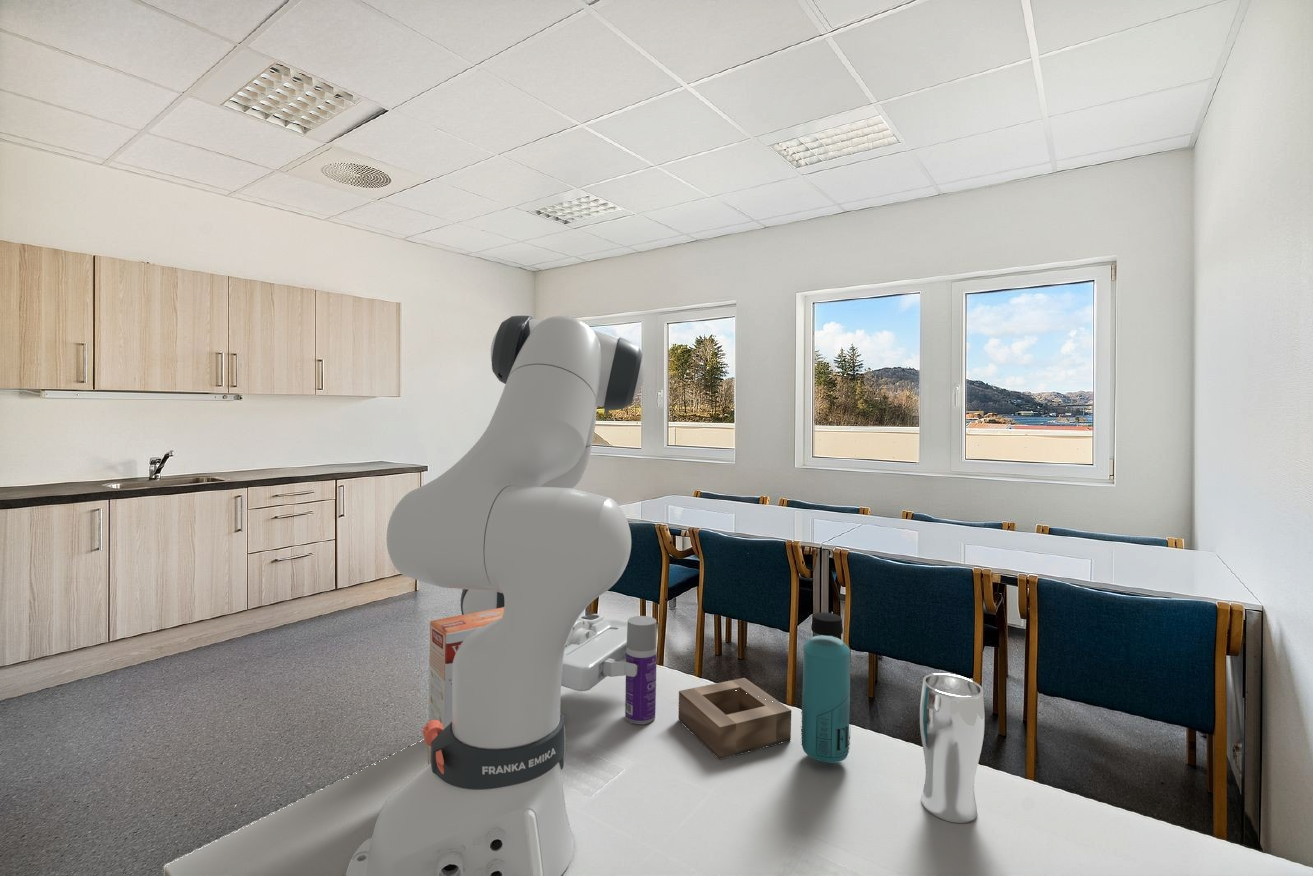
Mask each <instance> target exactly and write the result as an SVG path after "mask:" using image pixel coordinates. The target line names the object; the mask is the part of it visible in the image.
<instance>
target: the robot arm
mask: <svg viewBox="0 0 1313 876" xmlns="http://www.w3.org/2000/svg"><path fill="white" fill-rule="evenodd" d="M490 359H491V360H490V361H491V371H492V373H494V375H495V377H496V379H497V380H498V381H499V382H501V384H503V385H504V387H503V390H502V393H501V395H500V398H499V400H498V402H497V405H496V408H495V410H494V412H493V414H492V417H491V418H490V421H489V424H488V426H487V428H485V431H484V433H482V435H481V436H480V438H479V439H478V440H477V442H475V444H474V445H473V446H472V447H471V448H470V449H469V450H468V451H467V452H466V454H465V455H463V456H462V457H461V458H460V459H459V460H458V461H457V462H456V463H455V464H454V465H452V466H451V467H450V468H449V469H447V470H446V471H445V472H443V473H442V474H441V475H439V476H437V478H434V479H433V480H431V481H430V482H428V483H426V484H424V485H422V486H419V487H417V488H414V489H413V490H411V491H409V492H407V494H405V495H404V496H403V497H402V498H401V500H399V501H398V503H397V504H396V505H395V507H394V509H393V511H392V512H391V515H390V517H389V521H388V523H387V528H386V548H387V551H388V555H389V558H390V561H391V562H392V564H393V566H394V567H395V569H396V570H397V572H399V573H400V574H401V575H403V576H405V577H408V578H410V579H413V580H416V581H419V582H423V583H426V584H429V585H433V586H436V587H439V588H442V589H443V588H444V589H445V588H446V589H457V590H459V589H460V590H461V594H460V595H461V596H460V611H461V615H465V614H470V613H475V612H481V611H486V610H492V609H497V608H502V607H504V612H503V616H502V618H500V619H497V620H495V621H493V622H491V623H488V624H486V625H484V626H483V627H481V628H479V629H477V630H476V631H474V632H472V633H471V634H470V635H469V636H467V637H466V638H465V640H464V641H463V642H462V643H461V645H460V646H459V648H458V650H457V652H456V654H455V657H454V660H453V664H452V722H451V723H450V724H449V725H448V726H447V727H446V728H445V729H444V730H443V726H442V723H440V721H438V720H432V721H429V720H428V722H426V723H425V725H424V726H423V729H422V735H423V739H424V743H425V744H426V745H427V746H428V745H429V746H431V763H430V764H429V765H428V764H427V765H426V767H424V768H423V769H421V771H420V772H418V773H417V774H416V775H415V776H414V777H413V778H411V779H410V780H408V782H407V783H405V784H404V785H403V786H402V787H400V788H399V789H398V790H397V791H395V792H394V793H393V794H392V795H391V796H389V798H388V799H387V800H386V801H385V802H384V804H383V805H382V807H381V809H380V811H379V813H378V815H377V818H376V821H375V825H374V828H373V832H372V835H371V837H369V838H367V839H365V840H364V841H363V842H362V843H361V844H360V845H359V846H358V848H357V849H356V850H355V852H354V853H353V855H352V857H351V858H350V861H349V862H348V863H349V864H348V865H347V868H346V872H345V876H562V875H563V874H564V872H565V871H566V870H567V868H568V867H569V865H570V863H571V861H572V860H573V859H572V858H573V856H574V852H575V838H574V834H573V831H572V829H571V825H570V822H569V817H568V813H567V807H566V801H565V794H564V783H563V774H562V772H563V771H562V770H563V769H564V767H565V766H564V765H565V756H566V727H565V726H566V725H565V717H564V715H563V714H561V694H562V687H564V688H567V689H570V690H574V691H577V692H587V691H590V690H591V689H592V688H594V687H595V686H597V685H598V684H599V683H600V682H601V681H603V680H604V679H606V678H607V677H611V678H612V677H623V676H625V677H626V676H631V677H635V676H636V675H637V674H638V673H639V672H640V669H639V668H640V664H639V663H638V662H636V661H631V660H629V661H627V662H626V647H627V625H628V621H624V620H619V619H613V618H612V619H611V618H610V619H609V618H608V619H607V618H606V619H604V618H605V617H604V615H603V614H598V613H591V614H588V615H584V616H581V615H582V613H583V612H584V611H585V610H586V609H587V608H588V606H589V605H590V604H592V602H594V601H595V600H596V599H597V598H599V597H600V596H602V595H603V594H604V593H607V591H609V590H610V589H612V587H613V586H614V585H615V584H616V583H617V582H618V581H619V579H620V578H621V577H622V575H623V573H624V571H625V570H626V567H627V565H628V564H629V563H628V562H629V559H630V556H631V550H632V533H631V528H630V525H629V521H628V519H627V517H626V514H625V513H624V511H623V510H622V508H621V506H620V505H619V504H618V502H617V501H616V500H614V499H613V498H611V497H608V496H604V495H601V494H596V493H594V492H589V491H585V490H580V489H577V488H576V486H577V485H578V484H579V482H580V481H581V479H582V478H583V475H584V474H585V471H586V469H587V466H588V463H589V460H590V456H591V452H592V445H593V442H594V437H595V429H596V423H597V421H596V420H597V408H598V407H600V408H602V409H604V411H603V414H604V415H605V414H606V415H607V414H609V413H610V411H612V412H613V411H618V410H620V411H621V410H623V409H625V408H627V407H628V406H630V405H632V404H633V401H634V400H635V398H636V397H637V396H638V395H639V393H640V391H641V390H642V386H643V385H644V380H645V371H646V370H645V363H644V359H643V352H642V350H641V348H640V346H638V345H637V344H636V343H634V342H632V341H630V340H628V339H626V338H624V337H621V336H620V337H619V338H616V337H613V336H611V335H609V334H606V333H602V332H599V331H596V330H593V329H592V328H591V327H590V326H589V325H588V324H587V323H586V322H584V321H582V320H580V319H578V318H575V317H573V316H567V315H553V316H550V317H547V318H544V319H540V318H533V316H531V315H513V316H512V315H511V316H510V317H509V318H506V319H504V320H503V321H502V322H501V324H500V325H499V327H498V329H497V331H496V333H495V334H494V337H493V339H492V341H491V346H490ZM574 487H575V488H574Z"/></svg>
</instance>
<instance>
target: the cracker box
mask: <svg viewBox="0 0 1313 876" xmlns="http://www.w3.org/2000/svg"><path fill="white" fill-rule="evenodd" d="M503 612H504V607H502V608H497V609H492V610H486V611H481V612H475V613H470V614H465V615H462V614H460V615H454V616H449V617H444V618H440V619H439V618H438V619H434V620H431V621H429V663H428V664H429V665H428V666H429V668H428V670H429V671H428V672H429V673H428V678H429V679H428V722H429V721H432V720H438V721H440V723H442V726H443V730H444V729H445V728H446V727H447V726H448V725H449V724H450V723H451V722H452V664H453V660H454V657H455V654H456V652H457V650H458V648H459V646H460V645H461V643H462V642H463V641H464V640H465V638H466V637H467V636H469V635H470V634H471V633H472V632H474V631H476V630H477V629H479V628H481V627H483V626H484V625H486V624H488V623H491V622H493V621H495V620H497V619H500V618H502V616H503ZM427 746H428V747H427V766H428V765H429V764H430V763H431V746H429V745H427Z"/></svg>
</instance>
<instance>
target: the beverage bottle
mask: <svg viewBox="0 0 1313 876" xmlns="http://www.w3.org/2000/svg"><path fill="white" fill-rule="evenodd" d="M810 625H811V626H810V629H811V632H813V633H815V634H817V635H815V636H813V637H811V638H810V639H808V640H807V641H806V642H805V643H803V646H802V647H803V648H802V651H803V653H802V654H803V658H802V659H803V662H802V664H803V665H802V666H803V667H802V689H801V690H802V691H801V692H802V693H801V694H802V695H801V712H800V716H801V717H800V719H801V725H800V737H801V738H800V739H801V743H800V745H801V747H802V750H803V751H804V753H805V755H807V756H808V757H810V758H811V759H814V760H816V761H819V762H824V763H840V762H842V761H845V760H846V759H847V757H848V756H849V753H850V750H851V749H850V748H851V735H850V725H851V721H850V719H851V714H852V713H851V710H852V708H851V704H850V703H851V702H850V701H851V699H850V698H851V697H850V696H851V695H850V694H851V691H852V688H851V655H852V653H851V649H850V647H849V646H848V645H847V644H846V643H845V642H844V641H843V640H842V639H840V638H838V637H839V636H841V635H842V634H843V633H844V630H843V629H844V628H843V618H842V617H841V616H840V615H838V614H835V613H832V612H817V613H814V614H813V615H812V619H811V624H810ZM837 636H838V637H837Z"/></svg>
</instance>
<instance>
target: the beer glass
mask: <svg viewBox="0 0 1313 876" xmlns="http://www.w3.org/2000/svg"><path fill="white" fill-rule="evenodd" d="M921 689H922V690H921V696H920V705H919V725H920V726H919V727H920V736H921V744H922V750H923V756H924V764H925V779H924V784H923V785H924V786H923V789H922V792H921V797H920V800H921V803H922V806H923V807H924V808H925V809H926V810H927V812H929V813H930V814H932V815H933V816H934V817H937V818H938V819H941V820H942V821H943V820H944V821H945V822H946V821H947V822H950V823H956V824H967V823H971V822H973V821H974V820H976V818H977V816H978V809H977V808H978V807H977V801H976V795H975V778H976V774H977V769H978V765H979V761H980V756H981V753H982V748H983V742H984V737H985V736H984V735H985V704H984V688H983V687H982V686H981V685H980V684H979V683H978V682H976V681H974V680H972V679H969V678H967V677H964V676H961V675H956V674H951V673H945V672H944V673H943V672H942V673H939V672H938V673H937V672H936V673H930V674H927V675H925V676H923V679H922V687H921Z"/></svg>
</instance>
